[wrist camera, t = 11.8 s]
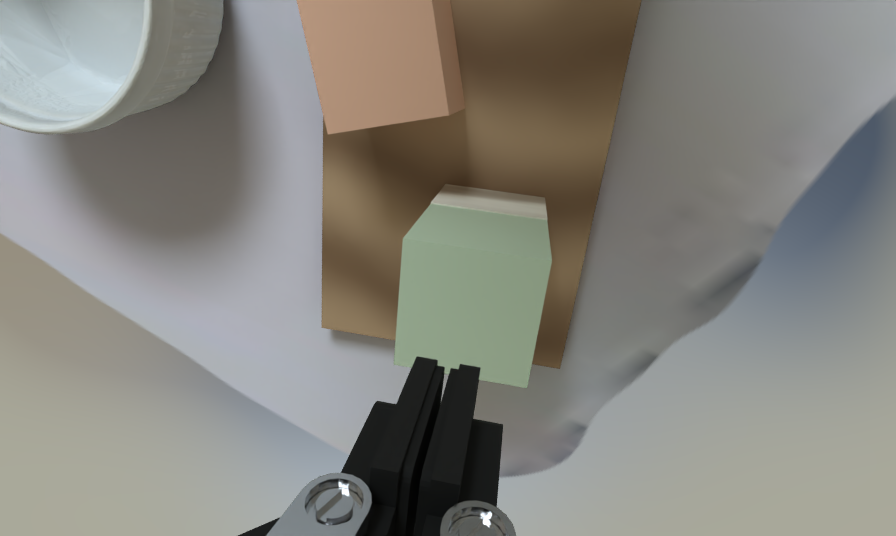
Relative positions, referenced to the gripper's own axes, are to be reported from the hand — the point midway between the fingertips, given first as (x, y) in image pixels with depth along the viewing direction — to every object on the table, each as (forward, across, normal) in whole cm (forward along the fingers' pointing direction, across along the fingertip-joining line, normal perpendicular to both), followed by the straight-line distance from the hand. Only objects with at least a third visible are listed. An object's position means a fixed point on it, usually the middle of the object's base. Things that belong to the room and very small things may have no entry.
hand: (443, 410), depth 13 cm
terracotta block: (+14, +5, -8) cm, 17 cm away
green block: (+10, 0, 0) cm, 10 cm away
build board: (+15, +2, -3) cm, 16 cm away
